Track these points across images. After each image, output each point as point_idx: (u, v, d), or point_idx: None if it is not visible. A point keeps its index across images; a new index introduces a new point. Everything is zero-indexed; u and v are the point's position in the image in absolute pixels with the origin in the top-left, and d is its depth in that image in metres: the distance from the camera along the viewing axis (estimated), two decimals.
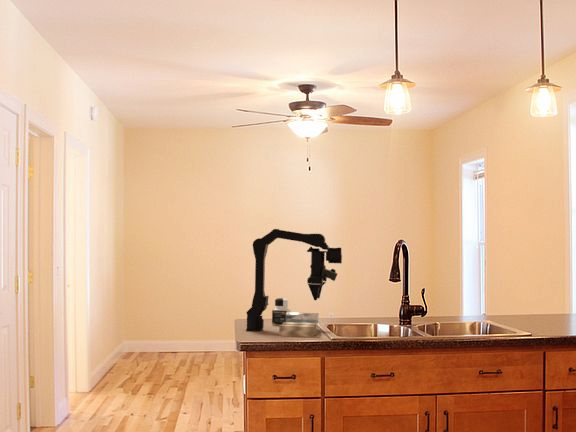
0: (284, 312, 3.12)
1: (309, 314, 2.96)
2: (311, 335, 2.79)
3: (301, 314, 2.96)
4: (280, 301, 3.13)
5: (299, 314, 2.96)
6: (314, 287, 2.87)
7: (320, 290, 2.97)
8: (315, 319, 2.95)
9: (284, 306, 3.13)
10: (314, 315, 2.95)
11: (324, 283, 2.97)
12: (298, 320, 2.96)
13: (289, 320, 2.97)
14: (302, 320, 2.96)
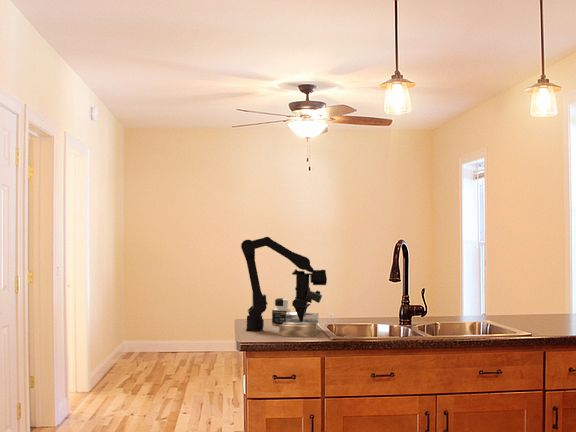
0: (284, 312, 3.12)
1: (309, 314, 2.96)
2: (311, 335, 2.79)
3: None
4: (280, 301, 3.13)
5: None
6: (300, 309, 2.94)
7: (305, 312, 3.00)
8: (315, 319, 2.95)
9: (284, 306, 3.13)
10: (314, 315, 2.95)
11: (308, 305, 3.00)
12: (298, 320, 2.96)
13: (289, 320, 2.97)
14: None
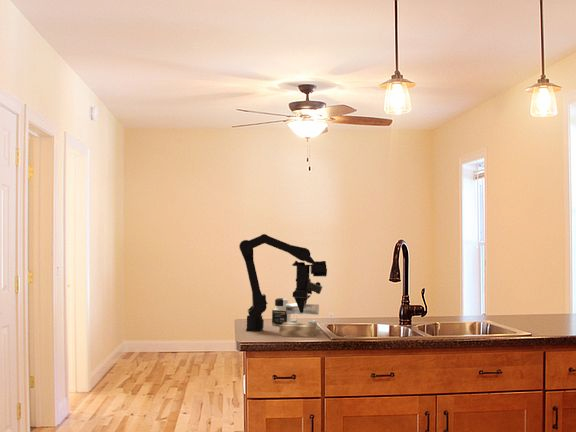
0: (284, 312, 3.12)
1: (309, 305, 2.96)
2: (311, 335, 2.79)
3: None
4: (280, 301, 3.13)
5: None
6: (300, 300, 2.94)
7: (305, 303, 3.00)
8: (315, 310, 2.95)
9: (284, 306, 3.13)
10: (314, 306, 2.95)
11: (309, 296, 3.00)
12: (298, 311, 2.96)
13: (289, 311, 2.97)
14: None
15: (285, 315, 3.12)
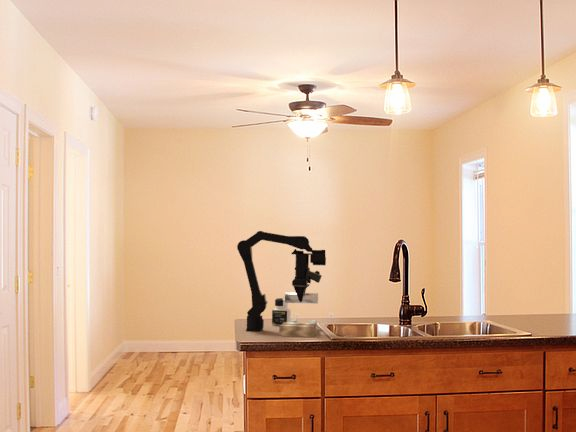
0: (284, 312, 3.12)
1: (309, 294, 2.93)
2: (311, 335, 2.79)
3: None
4: (280, 301, 3.13)
5: None
6: (299, 289, 2.92)
7: (304, 292, 2.97)
8: (315, 299, 2.92)
9: (284, 306, 3.13)
10: (314, 295, 2.93)
11: (308, 285, 2.98)
12: (297, 300, 2.93)
13: (288, 300, 2.94)
14: None
15: (285, 315, 3.12)
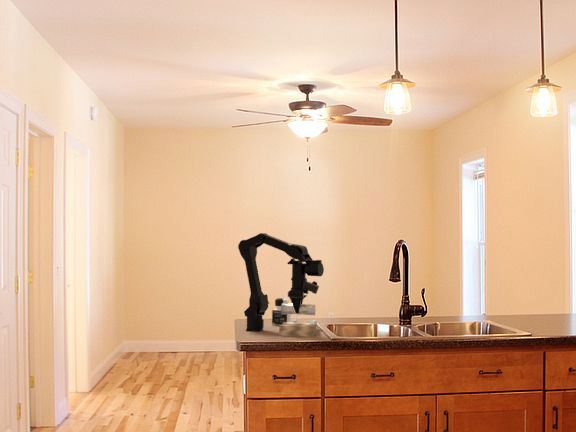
0: None
1: (305, 305, 2.84)
2: (311, 335, 2.79)
3: None
4: (280, 301, 3.13)
5: None
6: (296, 300, 2.83)
7: (301, 303, 2.88)
8: (312, 311, 2.83)
9: None
10: (311, 306, 2.84)
11: (305, 296, 2.89)
12: (294, 312, 2.84)
13: (284, 311, 2.85)
14: None
15: (285, 315, 3.12)
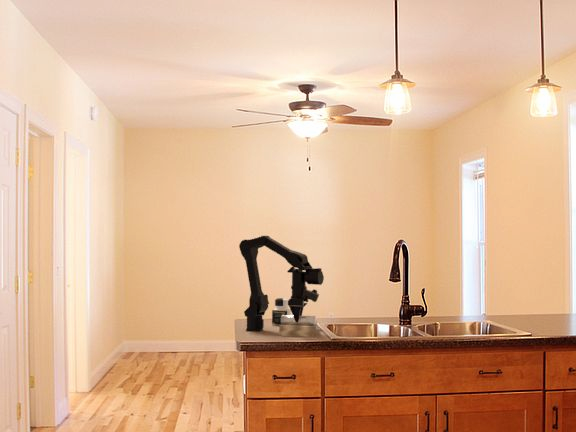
0: (284, 312, 3.12)
1: (305, 317, 2.84)
2: (311, 335, 2.79)
3: None
4: (280, 301, 3.13)
5: None
6: (295, 309, 2.81)
7: (301, 311, 2.89)
8: (312, 322, 2.83)
9: (284, 306, 3.13)
10: (311, 318, 2.83)
11: (305, 304, 2.90)
12: (294, 323, 2.84)
13: (284, 323, 2.85)
14: (298, 323, 2.84)
15: None
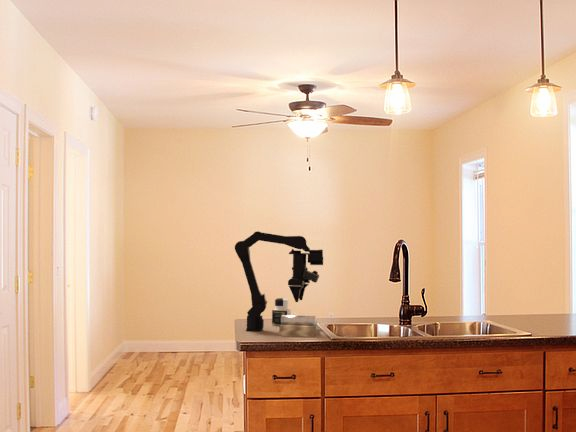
0: (284, 312, 3.12)
1: (305, 317, 2.84)
2: (311, 335, 2.79)
3: (297, 317, 2.85)
4: (280, 301, 3.13)
5: (295, 317, 2.84)
6: (295, 289, 2.90)
7: (303, 292, 3.00)
8: (312, 322, 2.83)
9: (284, 306, 3.13)
10: (311, 318, 2.83)
11: (307, 285, 3.00)
12: (294, 323, 2.84)
13: (284, 323, 2.85)
14: (298, 323, 2.84)
15: None
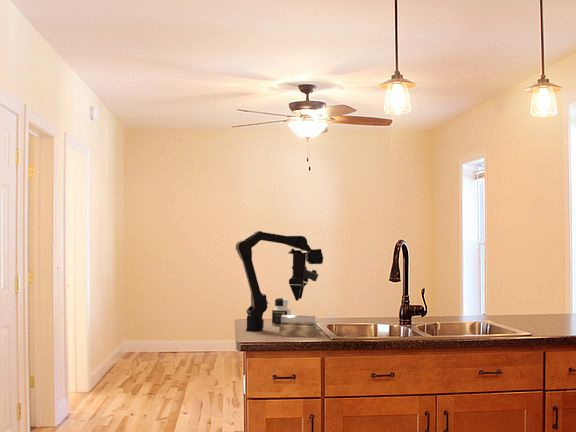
0: (284, 312, 3.12)
1: (305, 317, 2.84)
2: (311, 335, 2.79)
3: (297, 317, 2.84)
4: (280, 301, 3.13)
5: (295, 317, 2.84)
6: (295, 288, 2.95)
7: (302, 291, 3.05)
8: (312, 322, 2.83)
9: (284, 306, 3.13)
10: (311, 318, 2.83)
11: None
12: (294, 323, 2.84)
13: (284, 323, 2.85)
14: (298, 323, 2.84)
15: None
